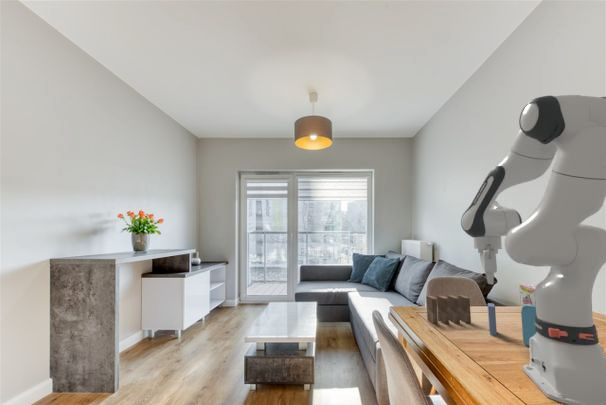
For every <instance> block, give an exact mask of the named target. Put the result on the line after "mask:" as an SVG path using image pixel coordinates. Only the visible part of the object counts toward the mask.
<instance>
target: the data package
mask: <svg viewBox="0 0 606 405" xmlns="http://www.w3.org/2000/svg"><path fill="white" fill-rule="evenodd" d="M520 313H521V314H520V315H521V328H522V331H521V332H522V341H523V344H524V345H525V346H527V347H529V348H530V343H529V339H530V338H531V337H533V336H534V335H535V334H536V332H537V331H536V330H535V316H537V314H536V307H533V306H524V307H523V308H522V310H521V311H520Z"/></svg>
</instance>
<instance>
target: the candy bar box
mask: <svg viewBox="0 0 606 405" xmlns="http://www.w3.org/2000/svg"><path fill="white" fill-rule="evenodd" d="M536 286H537V285H534V284H519V295H520V296H519V297H520V308H521V309H520V310H521V311H522V308H523V307H524V306H533V307H536V301H535V288H536Z"/></svg>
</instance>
